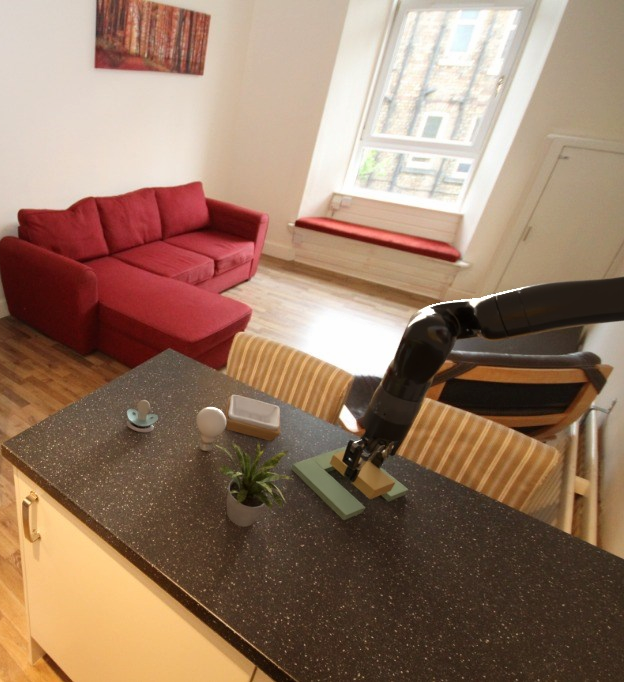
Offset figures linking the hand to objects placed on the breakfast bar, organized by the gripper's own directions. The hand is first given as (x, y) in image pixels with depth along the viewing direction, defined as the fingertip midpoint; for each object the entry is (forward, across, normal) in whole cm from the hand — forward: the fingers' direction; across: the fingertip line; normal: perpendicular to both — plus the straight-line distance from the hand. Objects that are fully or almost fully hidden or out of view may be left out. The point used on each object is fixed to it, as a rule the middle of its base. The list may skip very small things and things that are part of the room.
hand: (360, 474), depth 90 cm
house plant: (+4, -28, +3) cm, 29 cm away
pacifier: (+4, -33, +32) cm, 47 cm away
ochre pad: (+1, 0, 0) cm, 1 cm away
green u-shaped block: (+4, 0, +2) cm, 4 cm away
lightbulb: (+4, -23, +20) cm, 31 cm away
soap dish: (+4, -8, +23) cm, 25 cm away
